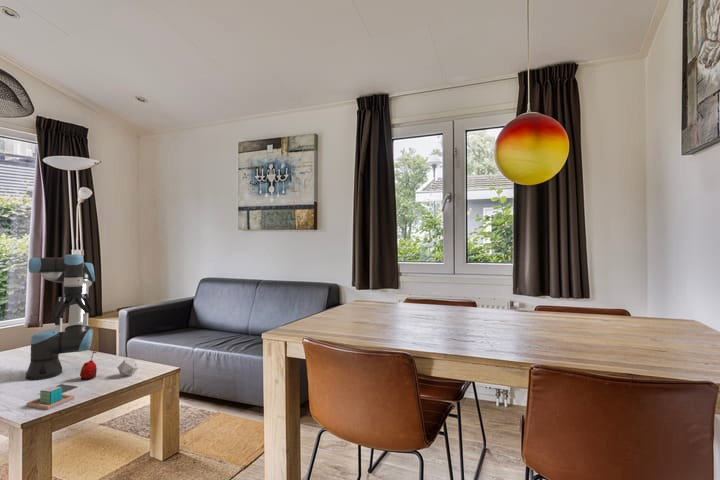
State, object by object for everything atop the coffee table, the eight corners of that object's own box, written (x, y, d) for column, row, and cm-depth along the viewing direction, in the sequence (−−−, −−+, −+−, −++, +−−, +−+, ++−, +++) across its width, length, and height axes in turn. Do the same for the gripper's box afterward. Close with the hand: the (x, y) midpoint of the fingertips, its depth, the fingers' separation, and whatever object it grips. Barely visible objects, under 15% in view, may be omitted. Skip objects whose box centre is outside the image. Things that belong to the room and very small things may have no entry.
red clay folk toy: (86, 375, 208) (86, 347, 208) (99, 375, 209) (100, 347, 209) (77, 381, 200) (77, 352, 200) (91, 381, 201) (92, 352, 201)
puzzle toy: (50, 404, 171) (50, 391, 171) (39, 403, 173) (39, 390, 173) (62, 399, 177) (62, 387, 177) (52, 398, 178) (52, 385, 178)
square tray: (26, 406, 170) (26, 403, 170) (54, 395, 182) (54, 392, 182) (47, 409, 167) (47, 406, 167) (74, 398, 179) (74, 395, 179)
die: (123, 380, 204) (136, 363, 207) (110, 370, 206) (124, 354, 209) (131, 380, 212) (144, 364, 215) (119, 371, 214) (132, 355, 217)
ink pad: (40, 393, 184) (40, 390, 184) (61, 385, 194) (61, 383, 194) (60, 396, 181) (60, 393, 181) (80, 388, 191) (80, 386, 191)
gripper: (54, 289, 180) (53, 335, 180) (101, 283, 204) (101, 323, 204) (41, 288, 182) (40, 333, 182) (90, 282, 206) (89, 322, 206)
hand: (72, 328), depth 193 cm, fingers open, 13 cm apart
